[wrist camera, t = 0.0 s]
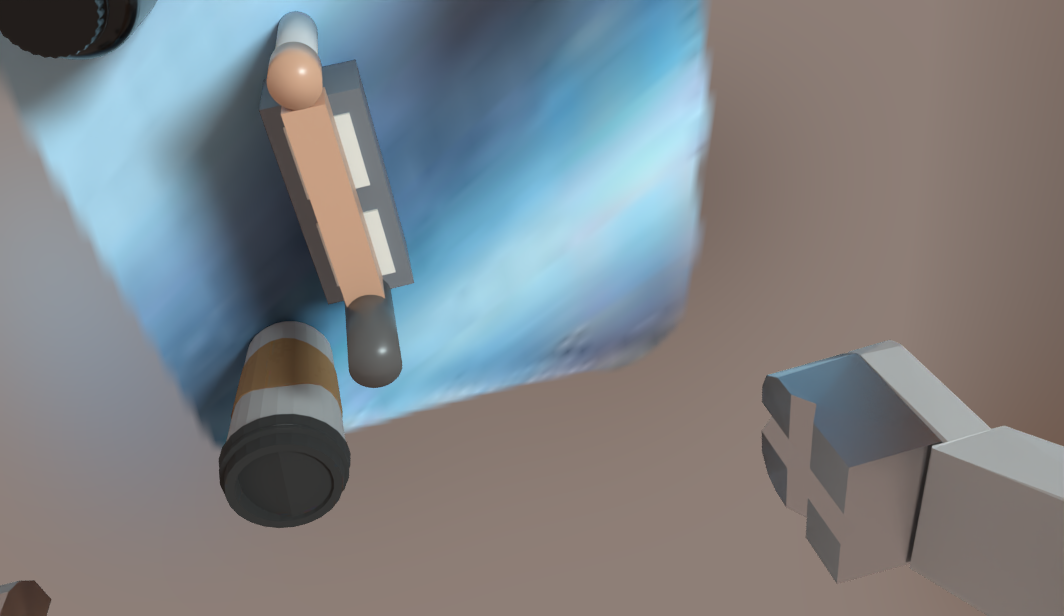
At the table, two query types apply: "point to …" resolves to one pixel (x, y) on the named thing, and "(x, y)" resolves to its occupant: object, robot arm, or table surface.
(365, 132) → the box
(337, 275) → the swing arm
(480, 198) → the table surface
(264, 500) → the coffee cup
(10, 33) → the supplement bottle
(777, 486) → the robot arm
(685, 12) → the table surface
